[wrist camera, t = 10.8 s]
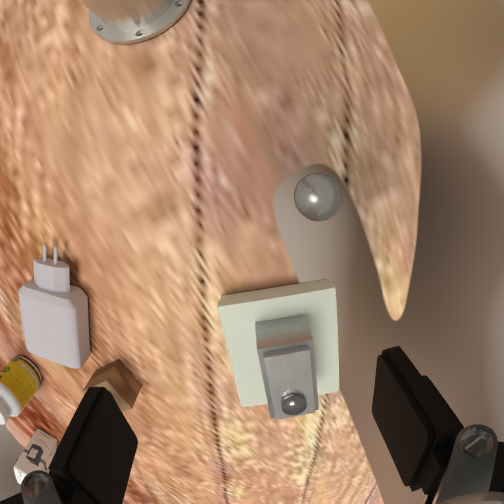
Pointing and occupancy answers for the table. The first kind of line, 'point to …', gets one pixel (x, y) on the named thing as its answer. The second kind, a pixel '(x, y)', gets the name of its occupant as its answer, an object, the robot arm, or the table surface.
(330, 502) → the table surface
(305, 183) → the grey disc
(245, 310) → the stand
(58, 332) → the charger
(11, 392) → the pill bottle
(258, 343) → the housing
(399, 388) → the robot arm
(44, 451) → the white product box
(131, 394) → the walnut block
